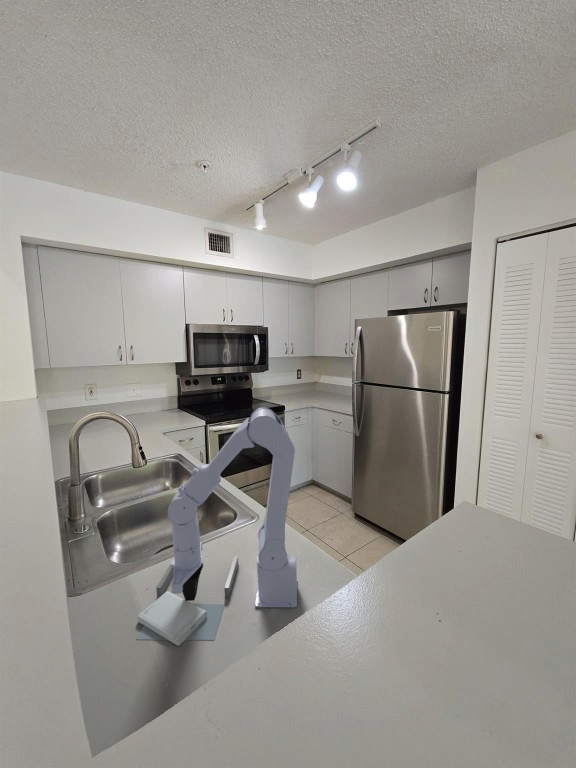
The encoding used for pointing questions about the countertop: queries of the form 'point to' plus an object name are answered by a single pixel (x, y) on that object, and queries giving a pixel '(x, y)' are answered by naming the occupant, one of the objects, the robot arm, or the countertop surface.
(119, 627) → the countertop surface
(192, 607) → the hard drive
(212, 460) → the robot arm
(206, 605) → the mat
